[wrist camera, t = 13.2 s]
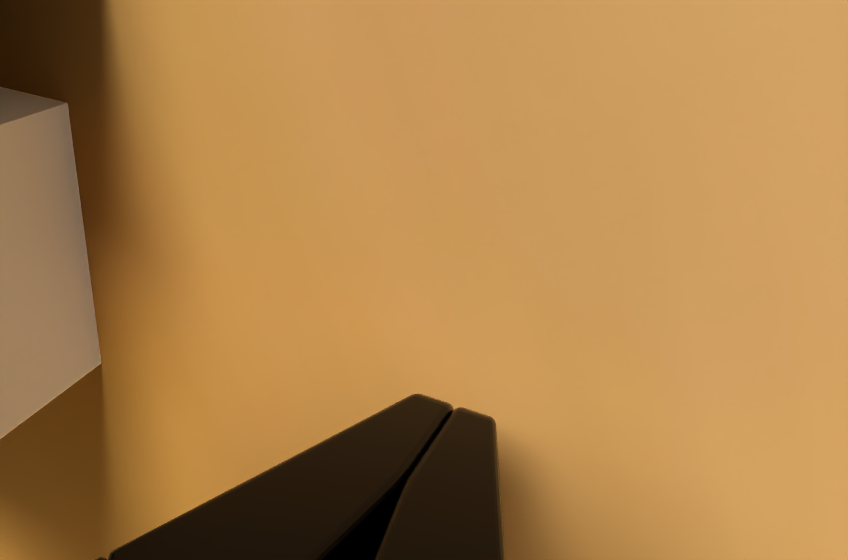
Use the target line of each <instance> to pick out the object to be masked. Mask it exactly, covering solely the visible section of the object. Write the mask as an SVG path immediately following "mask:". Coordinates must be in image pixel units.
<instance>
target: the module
mask: <svg viewBox="0 0 848 560" xmlns="http://www.w3.org/2000/svg"><path fill="white" fill-rule="evenodd" d="M100 364H101V355H100V347H99V340H98V332H97V324H96V317H95V309H94V301H93V294H92V286H91V278H90V271H89V263H88V256H87V248H86V240H85V233H84V225H83V217H82V210H81V202H80V194H79V187H78V179H77V171H76V164H75V156H74V148H73V141H72V133H71V125H70V118H69V110H68V103H66V102H62V101H58V100H53V99H49V98H45V97H41V96H37V95H33V94H29V93H24V92H20V91H16V90H12V89H8V88H4V87H0V439H1V438H3V437H4V436H5V435H7V434H8V433H9V432H11V431H12V430H13V429H15V428H16V427H17V426H19V425H20V424H21V423H23V422H24V421H25V420H27V419H28V418H29V417H31V416H32V415H33V414H35V413H36V412H37V411H39V410H40V409H41V408H43V407H44V406H45V405H47V404H48V403H49V402H51V401H52V400H53V399H55V398H56V397H57V396H59V395H60V394H61V393H63V392H64V391H65V390H67V389H68V388H69V387H71V386H72V385H73V384H75V383H76V382H77V381H79V380H80V379H81V378H83V377H84V376H85V375H87V374H88V373H89V372H91V371H92V370H93V369H95V368H96V367H97V366H99V365H100Z"/></svg>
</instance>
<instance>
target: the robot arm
mask: <svg viewBox="0 0 848 560" xmlns="http://www.w3.org/2000/svg"><path fill="white" fill-rule="evenodd" d="M95 560H107V558H105V557H99V558H97V559H95ZM108 560H505V546H504V532H503V518H502V504H501V490H500V476H499V461H498V447H497V433H496V423H495V421H494V419H493V418H492V417H490V416H487V415H484V414H481V413H478V412H475V411H472V410H469V409H465V408H461V407H460V408H456V409H455V410H454V409H453V407H452V406H451V404H449V403H447V402H444V401H441V400H438V399H435V398H432V397H428V396H425V395H422V394H414V395H411V396H409V397H407V398H405V399H403V400H401V401H399V402H397V403H395V404H393V405H391V406H389V407H388V408H386V409H384V410H382V411H380V412H378V413H376V414H374V415H372V416H370V417H368V418H366V419H365V420H363V421H361V422H359V423H357V424H355V425H353V426H351V427H349V428H347V429H345V430H343V431H342V432H340V433H338V434H336V435H334V436H332V437H330V438H328V439H326V440H324V441H322V442H320V443H318V444H317V445H315V446H313V447H311V448H309V449H307V450H305V451H303V452H301V453H299V454H297V455H295V456H294V457H292V458H290V459H288V460H286V461H284V462H282V463H280V464H278V465H276V466H274V467H272V468H271V469H269V470H267V471H265V472H263V473H261V474H259V475H257V476H255V477H253V478H251V479H249V480H247V481H246V482H244V483H242V484H240V485H238V486H236V487H234V488H232V489H230V490H228V491H226V492H224V493H223V494H221V495H219V496H217V497H215V498H213V499H211V500H209V501H207V502H205V503H203V504H201V505H200V506H198V507H196V508H194V509H192V510H190V511H188V512H186V513H184V514H182V515H180V516H178V517H177V518H175V519H173V520H171V521H169V522H167V523H165V524H163V525H161V526H159V527H157V528H155V529H153V530H152V531H150V532H148V533H146V534H144V535H142V536H140V537H138V538H136V539H134V540H132V541H130V542H129V543H127V544H125V545H123V546H121V547H119V548H117V549H115V550H113V551H112V552H111V553H110V555H109V558H108Z"/></svg>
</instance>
